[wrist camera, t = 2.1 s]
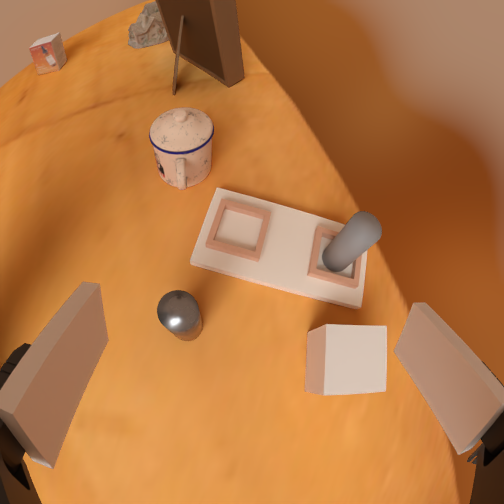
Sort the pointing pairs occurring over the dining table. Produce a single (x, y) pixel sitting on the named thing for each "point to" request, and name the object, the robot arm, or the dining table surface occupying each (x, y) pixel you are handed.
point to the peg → (180, 315)
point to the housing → (346, 359)
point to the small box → (48, 54)
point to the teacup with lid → (182, 146)
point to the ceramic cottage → (148, 28)
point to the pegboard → (286, 247)
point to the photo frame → (205, 36)
